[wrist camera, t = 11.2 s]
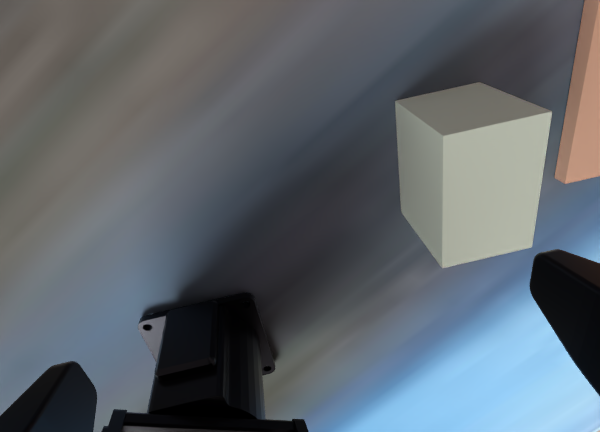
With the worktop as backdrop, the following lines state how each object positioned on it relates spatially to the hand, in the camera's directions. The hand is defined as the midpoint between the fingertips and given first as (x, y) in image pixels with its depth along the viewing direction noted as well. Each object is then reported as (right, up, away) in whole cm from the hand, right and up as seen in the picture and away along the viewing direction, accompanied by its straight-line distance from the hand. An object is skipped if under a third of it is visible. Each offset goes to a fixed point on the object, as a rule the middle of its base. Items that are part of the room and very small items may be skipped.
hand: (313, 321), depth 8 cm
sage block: (+6, +5, +12) cm, 15 cm away
